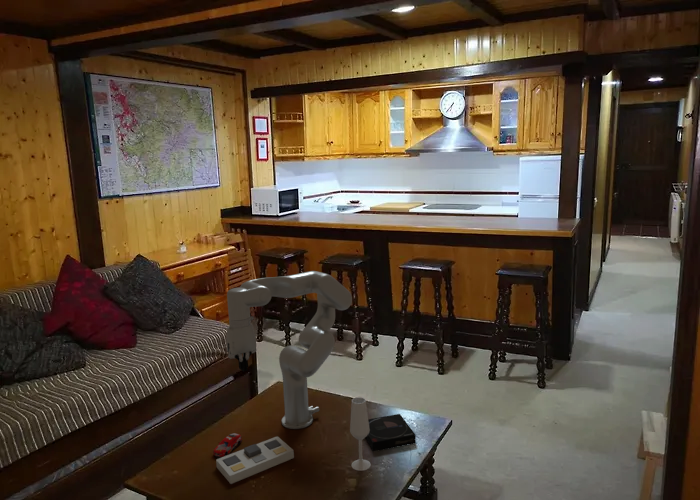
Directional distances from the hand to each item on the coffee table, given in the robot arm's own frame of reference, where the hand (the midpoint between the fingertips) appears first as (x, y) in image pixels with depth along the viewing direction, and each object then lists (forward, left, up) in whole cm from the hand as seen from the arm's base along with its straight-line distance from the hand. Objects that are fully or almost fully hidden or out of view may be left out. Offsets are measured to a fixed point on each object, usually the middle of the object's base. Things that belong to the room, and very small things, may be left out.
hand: (243, 370), depth 196 cm
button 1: (+12, +11, -29) cm, 33 cm away
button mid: (+4, +11, -28) cm, 30 cm away
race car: (+8, -2, -30) cm, 31 cm away
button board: (+4, +13, -29) cm, 32 cm away
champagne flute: (-24, +38, -29) cm, 54 cm away
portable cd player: (-43, +29, -30) cm, 60 cm away
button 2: (-4, +12, -29) cm, 31 cm away
